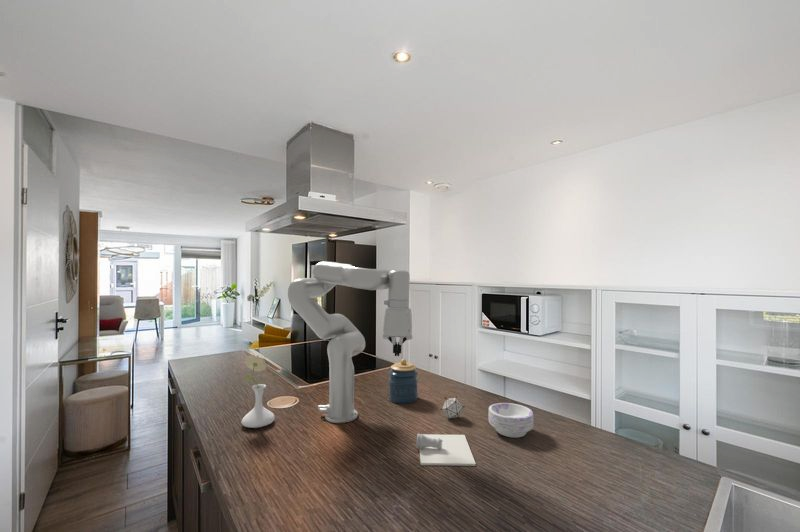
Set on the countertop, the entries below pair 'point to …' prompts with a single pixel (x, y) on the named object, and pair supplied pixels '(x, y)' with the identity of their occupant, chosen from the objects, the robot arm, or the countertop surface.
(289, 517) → the countertop surface
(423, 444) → the rook chess piece
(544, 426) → the countertop surface
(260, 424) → the flower in vase
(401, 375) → the canister
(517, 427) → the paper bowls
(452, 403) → the game die
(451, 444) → the mat
